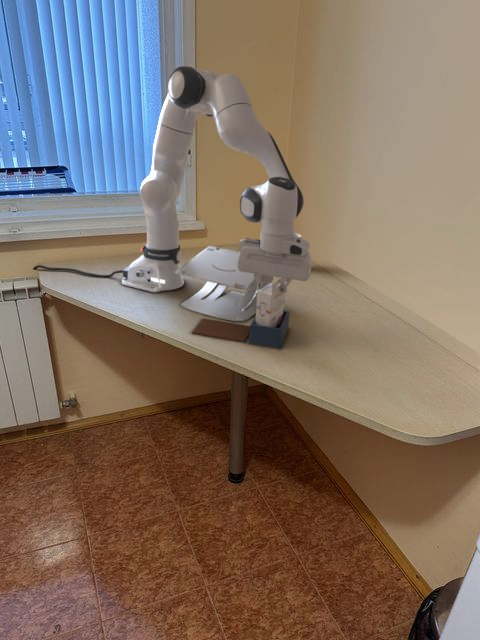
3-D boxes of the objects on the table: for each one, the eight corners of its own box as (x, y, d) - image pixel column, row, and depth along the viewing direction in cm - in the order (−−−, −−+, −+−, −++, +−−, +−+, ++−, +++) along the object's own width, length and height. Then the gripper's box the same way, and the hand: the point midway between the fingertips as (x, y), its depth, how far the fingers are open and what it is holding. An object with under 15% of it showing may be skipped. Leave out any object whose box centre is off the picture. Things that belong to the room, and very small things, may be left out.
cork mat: (191, 333, 144) (191, 332, 143) (202, 319, 152) (202, 318, 152) (244, 342, 140) (244, 340, 140) (252, 327, 148) (252, 326, 148)
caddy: (248, 343, 140) (250, 324, 137) (259, 324, 151) (260, 306, 148) (279, 348, 138) (281, 330, 135) (288, 329, 149) (290, 311, 146)
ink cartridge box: (267, 318, 147) (272, 271, 139) (282, 322, 144) (287, 275, 137) (253, 328, 140) (257, 280, 133) (268, 333, 138) (273, 284, 131)
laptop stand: (274, 300, 167) (278, 256, 160) (242, 325, 149) (245, 278, 142) (210, 284, 178) (211, 243, 170) (174, 306, 160) (173, 261, 152)
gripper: (236, 240, 130) (233, 288, 137) (312, 250, 125) (305, 299, 132) (242, 234, 135) (239, 280, 142) (315, 243, 130) (308, 291, 137)
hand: (271, 290), depth 137 cm, fingers closed on ink cartridge box, 5 cm apart
